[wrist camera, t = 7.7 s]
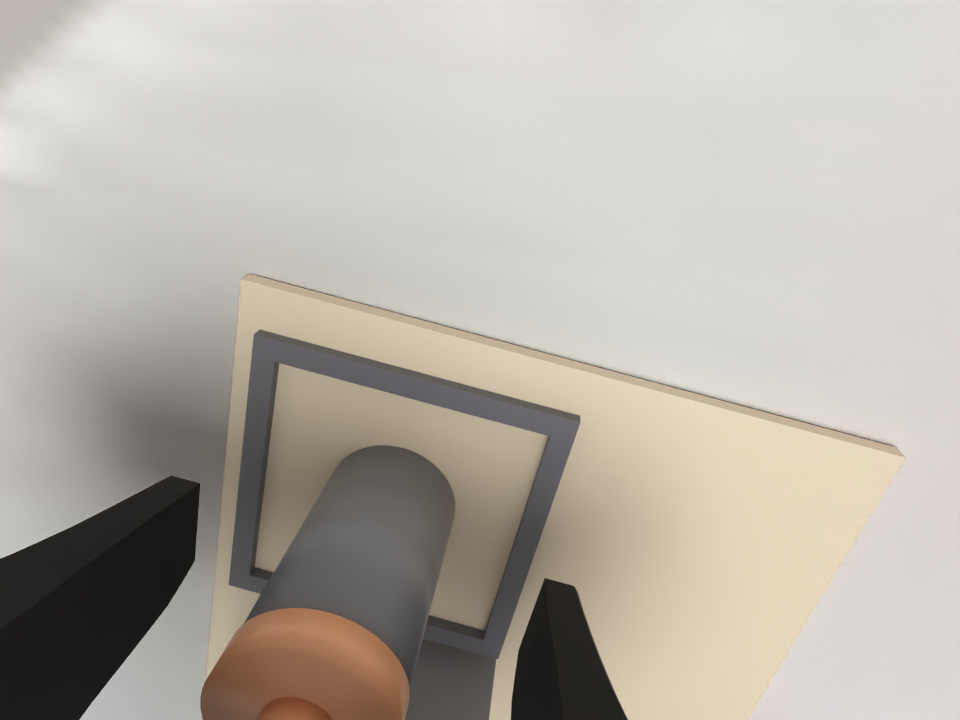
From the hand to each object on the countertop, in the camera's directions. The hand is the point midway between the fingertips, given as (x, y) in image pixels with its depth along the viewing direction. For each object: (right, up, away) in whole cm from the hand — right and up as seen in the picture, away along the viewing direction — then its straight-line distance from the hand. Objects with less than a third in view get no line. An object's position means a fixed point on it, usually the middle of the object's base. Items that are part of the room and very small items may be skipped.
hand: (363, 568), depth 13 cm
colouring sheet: (+3, -2, +3) cm, 5 cm away
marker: (0, +1, +2) cm, 2 cm away
